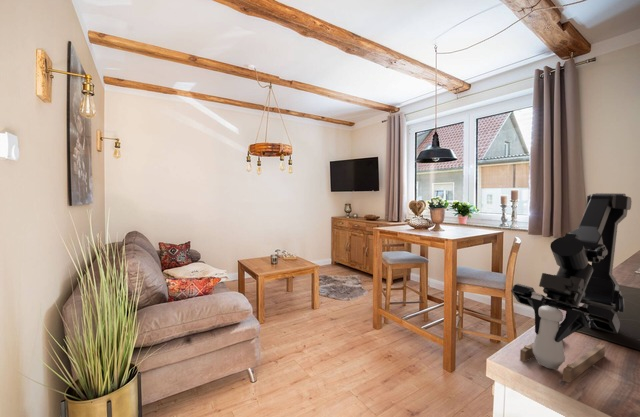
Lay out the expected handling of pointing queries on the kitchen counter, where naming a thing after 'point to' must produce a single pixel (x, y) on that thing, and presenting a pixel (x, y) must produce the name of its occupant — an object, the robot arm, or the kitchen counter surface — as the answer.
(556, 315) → the salt shaker
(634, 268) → the kitchen counter surface
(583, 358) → the pair of wooden rails
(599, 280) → the robot arm
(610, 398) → the kitchen counter surface
